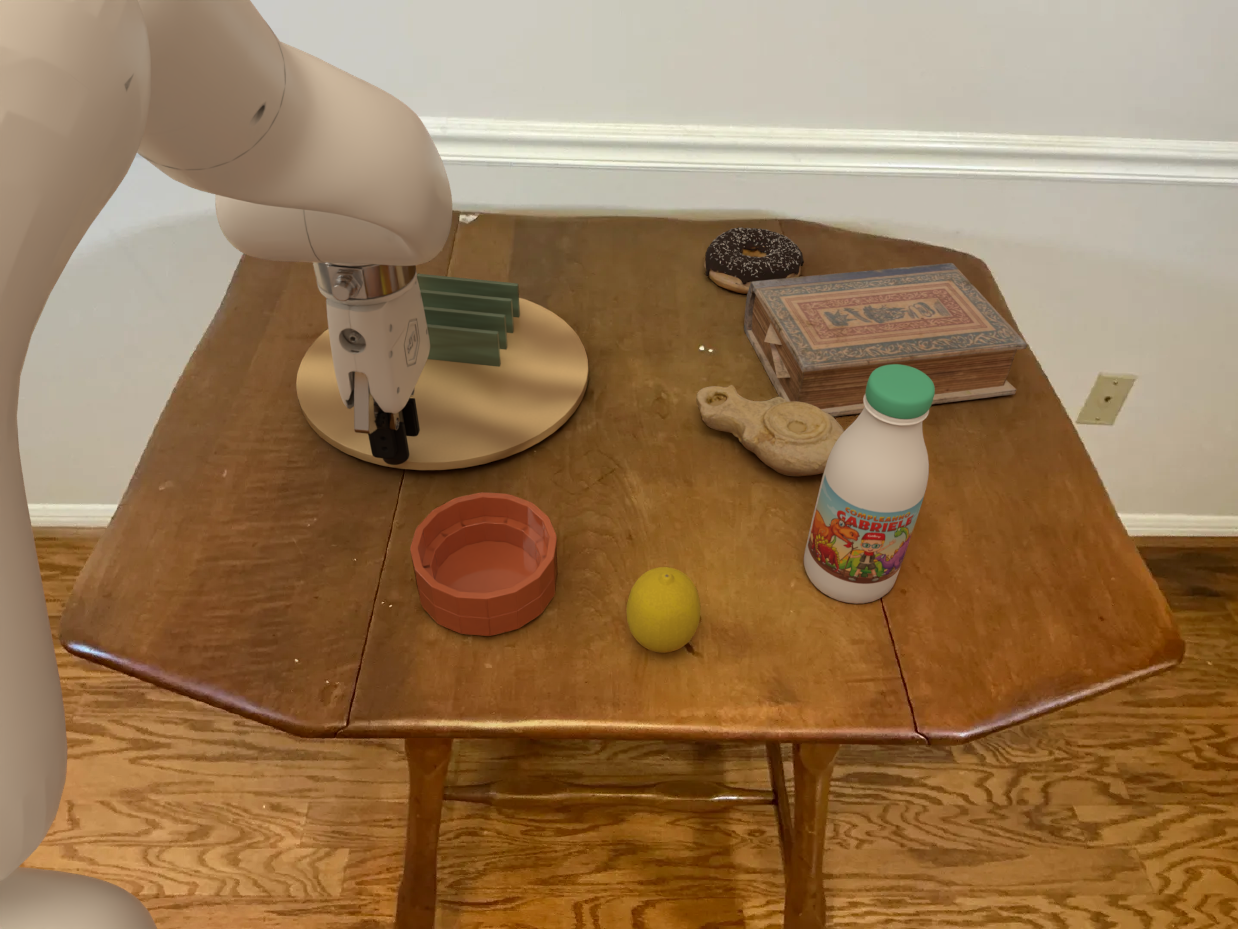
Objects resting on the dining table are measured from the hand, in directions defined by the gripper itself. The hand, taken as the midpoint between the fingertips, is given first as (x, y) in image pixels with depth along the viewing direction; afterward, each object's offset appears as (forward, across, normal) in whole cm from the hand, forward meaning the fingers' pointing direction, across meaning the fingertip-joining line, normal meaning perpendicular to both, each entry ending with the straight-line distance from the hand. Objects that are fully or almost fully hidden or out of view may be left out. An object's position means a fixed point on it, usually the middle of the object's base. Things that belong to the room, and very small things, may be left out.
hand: (396, 443), depth 84 cm
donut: (+4, +40, -31) cm, 51 cm away
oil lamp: (+4, +8, -33) cm, 35 cm away
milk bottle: (+4, -6, -40) cm, 41 cm away
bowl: (+4, -12, -11) cm, 16 cm away
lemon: (+4, -16, -25) cm, 30 cm away
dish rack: (+3, +14, 0) cm, 14 cm away
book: (+4, +24, -44) cm, 50 cm away
